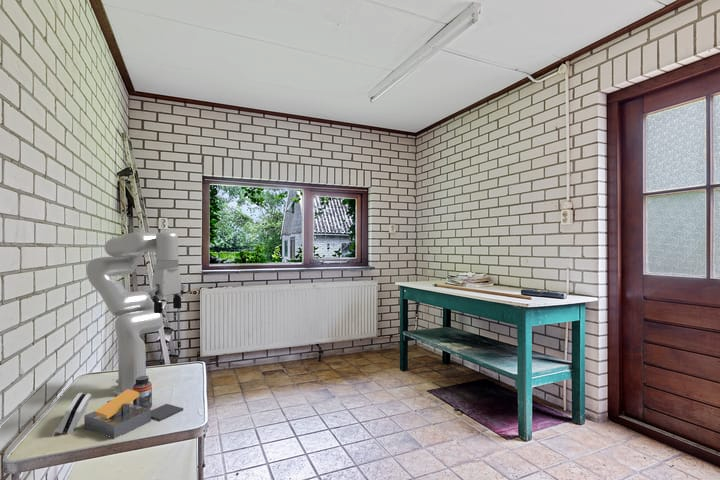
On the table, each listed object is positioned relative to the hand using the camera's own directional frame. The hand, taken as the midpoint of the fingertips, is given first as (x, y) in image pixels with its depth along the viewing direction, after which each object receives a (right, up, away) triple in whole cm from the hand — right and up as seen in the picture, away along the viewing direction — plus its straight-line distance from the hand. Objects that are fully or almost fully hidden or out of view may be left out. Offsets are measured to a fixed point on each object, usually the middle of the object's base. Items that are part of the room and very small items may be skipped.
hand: (168, 310), depth 140 cm
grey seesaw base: (-8, -34, -17) cm, 39 cm away
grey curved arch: (-23, -35, -15) cm, 45 cm away
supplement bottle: (-6, -35, -5) cm, 36 cm away
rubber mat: (+3, -34, -9) cm, 36 cm away
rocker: (-8, -27, -17) cm, 33 cm away
